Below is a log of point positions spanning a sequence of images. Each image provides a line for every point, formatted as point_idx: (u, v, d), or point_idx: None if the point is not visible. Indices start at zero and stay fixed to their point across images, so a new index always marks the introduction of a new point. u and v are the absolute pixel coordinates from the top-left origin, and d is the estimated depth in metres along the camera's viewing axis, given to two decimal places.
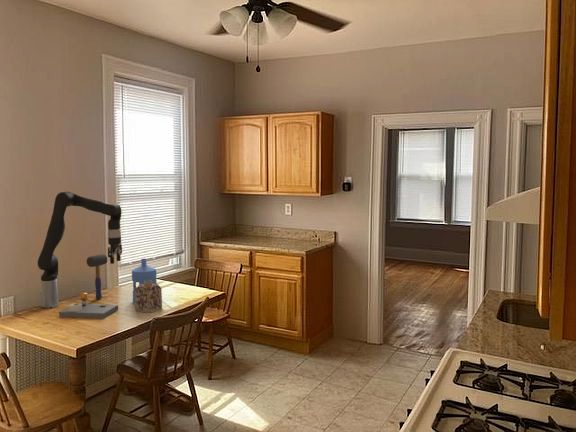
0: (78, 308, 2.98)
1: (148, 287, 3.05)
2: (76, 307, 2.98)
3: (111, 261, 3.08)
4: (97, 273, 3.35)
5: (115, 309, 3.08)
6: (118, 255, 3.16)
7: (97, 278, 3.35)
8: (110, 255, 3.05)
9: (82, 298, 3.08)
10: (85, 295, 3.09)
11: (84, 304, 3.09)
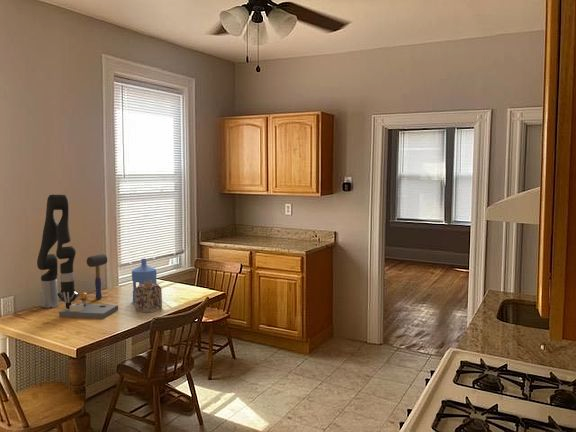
0: (79, 308, 2.98)
1: (148, 287, 3.05)
2: (78, 307, 2.97)
3: (69, 306, 3.00)
4: (97, 273, 3.35)
5: (115, 309, 3.08)
6: None
7: (97, 278, 3.35)
8: None
9: (82, 298, 3.08)
10: (85, 295, 3.09)
11: (84, 304, 3.09)
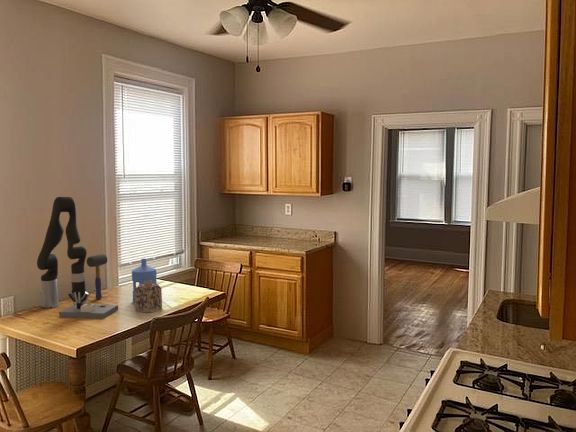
0: (90, 308, 2.97)
1: (148, 287, 3.05)
2: (89, 307, 2.96)
3: (80, 306, 2.99)
4: (97, 273, 3.35)
5: (115, 309, 3.08)
6: None
7: (97, 278, 3.35)
8: None
9: None
10: None
11: None
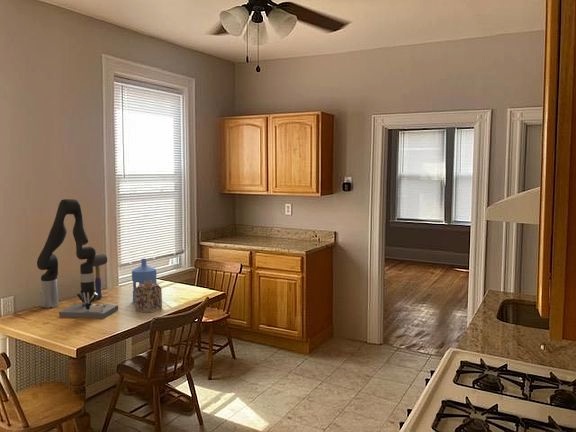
0: (99, 309, 2.96)
1: (148, 287, 3.05)
2: (98, 308, 2.96)
3: (89, 307, 2.99)
4: (97, 273, 3.35)
5: (115, 309, 3.08)
6: None
7: (97, 278, 3.35)
8: None
9: None
10: None
11: (84, 304, 3.09)
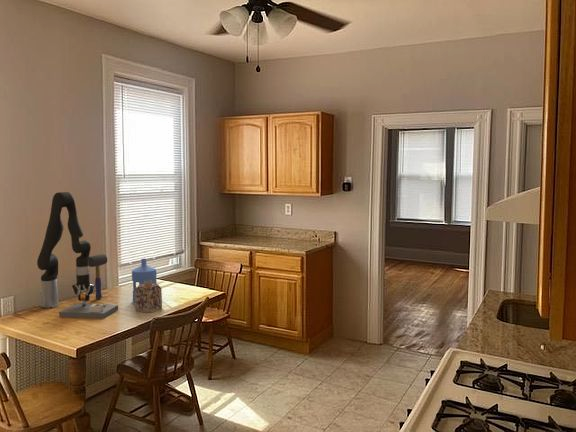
0: (99, 309, 2.96)
1: (148, 287, 3.05)
2: (98, 308, 2.96)
3: None
4: (97, 273, 3.35)
5: (115, 309, 3.08)
6: None
7: (97, 278, 3.35)
8: (91, 292, 3.09)
9: (82, 298, 3.08)
10: (85, 295, 3.08)
11: (84, 304, 3.09)
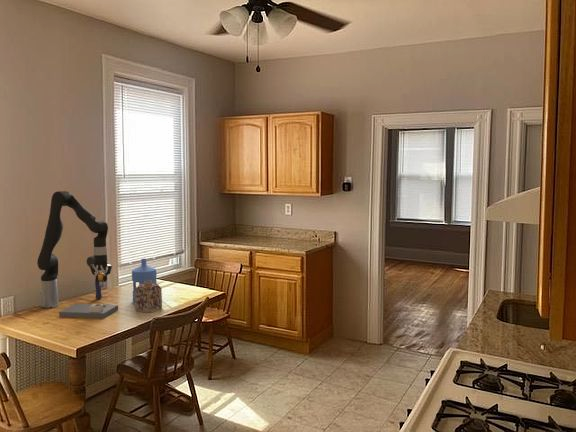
0: (99, 309, 2.96)
1: (148, 287, 3.05)
2: (98, 308, 2.96)
3: (105, 279, 3.07)
4: None
5: (115, 309, 3.08)
6: None
7: None
8: (109, 272, 3.07)
9: (99, 279, 3.05)
10: (102, 276, 3.06)
11: (101, 285, 3.07)
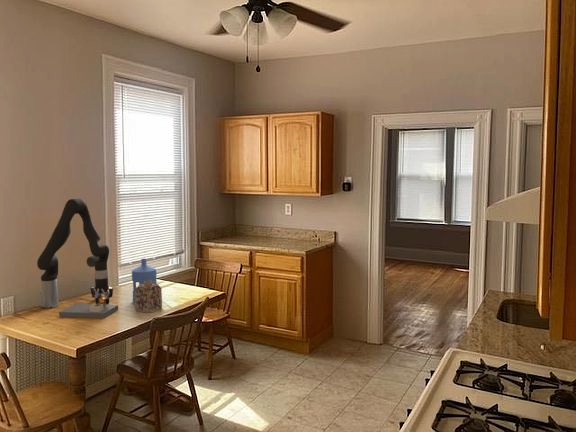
0: (99, 309, 2.96)
1: (148, 287, 3.05)
2: (98, 308, 2.96)
3: None
4: None
5: (115, 309, 3.08)
6: (98, 298, 3.09)
7: None
8: (111, 295, 3.08)
9: (100, 303, 3.07)
10: (104, 300, 3.07)
11: None
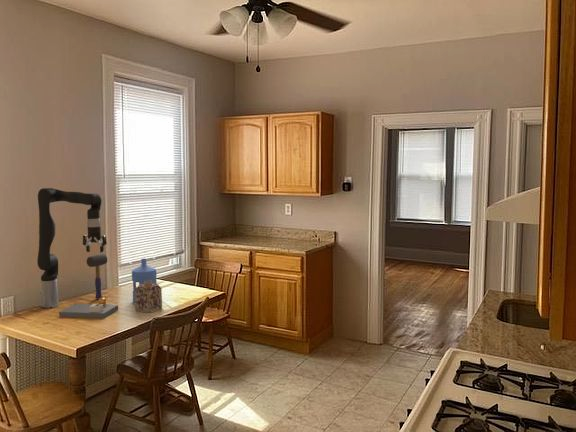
0: (99, 309, 2.96)
1: (148, 287, 3.05)
2: (98, 308, 2.96)
3: None
4: (97, 273, 3.35)
5: (115, 309, 3.08)
6: (88, 246, 3.10)
7: (97, 278, 3.35)
8: (105, 243, 3.08)
9: (100, 303, 3.07)
10: (103, 300, 3.07)
11: None
